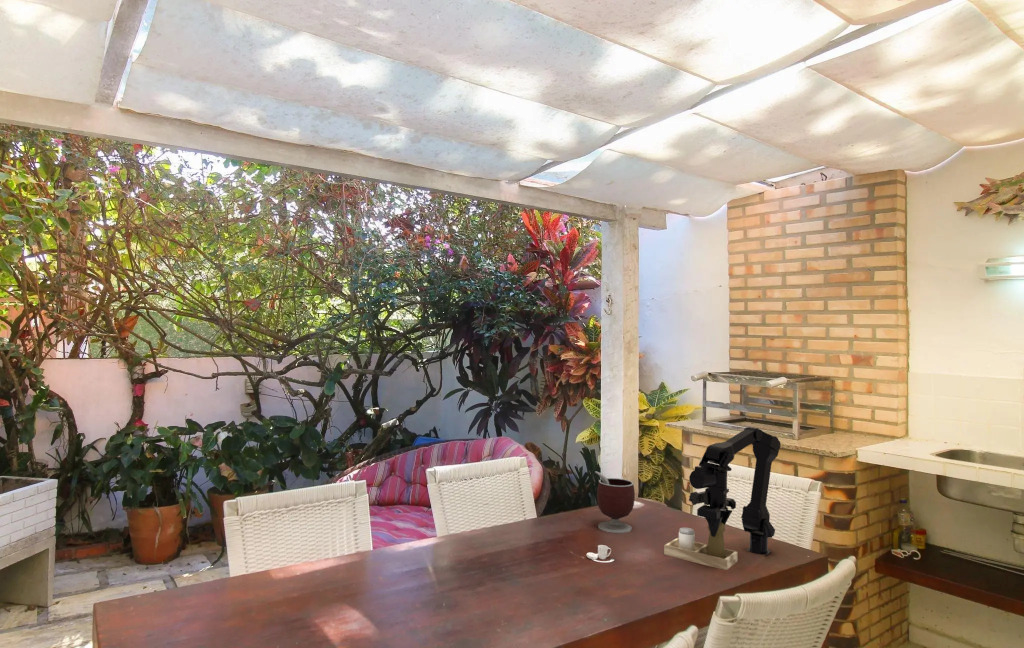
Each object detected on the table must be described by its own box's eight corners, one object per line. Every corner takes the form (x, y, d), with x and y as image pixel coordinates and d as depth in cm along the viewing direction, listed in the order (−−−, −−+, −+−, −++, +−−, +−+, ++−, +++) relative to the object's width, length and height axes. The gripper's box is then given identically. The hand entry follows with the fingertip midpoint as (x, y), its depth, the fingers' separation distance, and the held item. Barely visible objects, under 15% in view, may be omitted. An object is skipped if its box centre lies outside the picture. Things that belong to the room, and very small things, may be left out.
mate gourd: (639, 527, 241) (640, 473, 241) (625, 536, 229) (626, 480, 229) (601, 519, 249) (603, 468, 249) (585, 528, 237) (587, 474, 238)
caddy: (677, 548, 217) (677, 537, 217) (737, 562, 205) (737, 551, 205) (664, 556, 209) (664, 545, 209) (726, 572, 197) (726, 560, 197)
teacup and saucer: (584, 560, 203) (584, 548, 204) (591, 553, 211) (591, 540, 211) (611, 565, 200) (612, 552, 200) (617, 557, 208) (617, 545, 208)
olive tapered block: (726, 560, 201) (727, 525, 201) (706, 558, 202) (707, 523, 202) (724, 554, 206) (725, 520, 207) (705, 552, 208) (705, 518, 208)
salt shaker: (681, 550, 213) (682, 526, 214) (696, 554, 210) (697, 529, 211) (675, 554, 210) (676, 529, 210) (690, 557, 206) (691, 533, 207)
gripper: (703, 476, 217) (702, 523, 217) (681, 486, 202) (680, 535, 202) (736, 482, 210) (735, 530, 210) (716, 492, 195) (715, 543, 195)
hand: (716, 534), depth 204 cm, fingers closed on olive tapered block, 5 cm apart
